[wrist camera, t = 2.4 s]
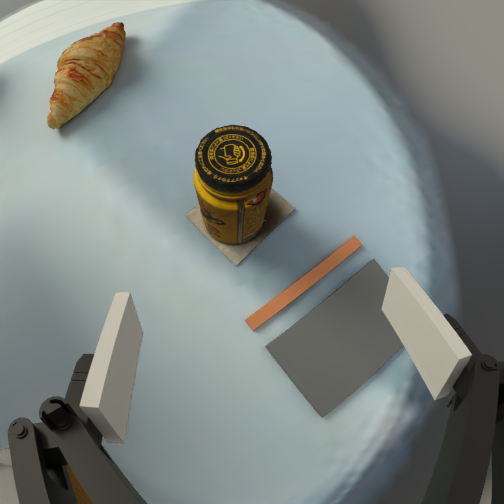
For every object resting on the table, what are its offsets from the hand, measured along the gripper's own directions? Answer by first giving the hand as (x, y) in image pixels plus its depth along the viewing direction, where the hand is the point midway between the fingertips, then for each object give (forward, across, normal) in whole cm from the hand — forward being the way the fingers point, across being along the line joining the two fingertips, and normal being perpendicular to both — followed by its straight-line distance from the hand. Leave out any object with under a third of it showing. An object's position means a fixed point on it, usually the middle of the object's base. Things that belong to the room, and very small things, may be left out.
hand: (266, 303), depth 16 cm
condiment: (+18, 0, -3) cm, 18 cm away
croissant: (+35, -20, +14) cm, 43 cm away
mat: (+8, +9, -12) cm, 18 cm away
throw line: (+13, +6, -8) cm, 16 cm away
